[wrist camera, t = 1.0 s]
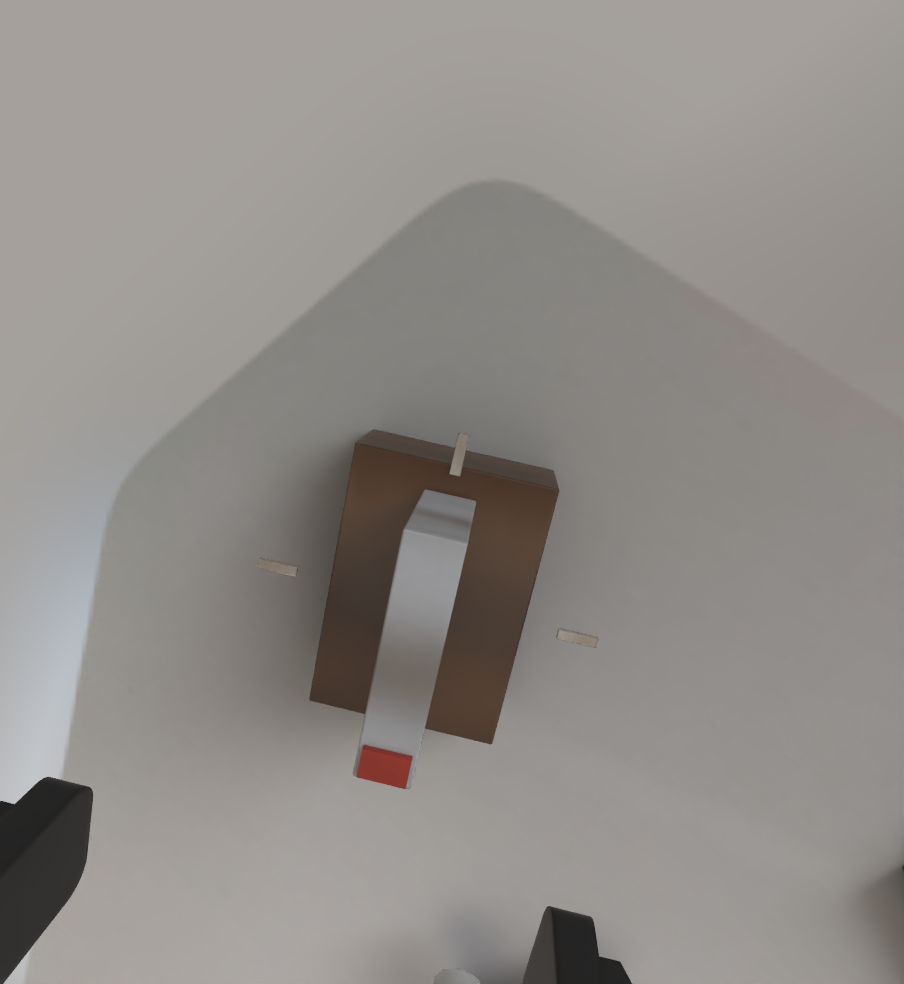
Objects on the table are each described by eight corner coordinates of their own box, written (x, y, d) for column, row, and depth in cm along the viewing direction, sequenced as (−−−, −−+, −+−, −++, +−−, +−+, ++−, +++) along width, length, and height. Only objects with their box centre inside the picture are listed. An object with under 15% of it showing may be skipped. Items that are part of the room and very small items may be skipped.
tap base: (310, 385, 25) (283, 393, 22) (630, 457, 25) (647, 476, 22) (265, 670, 28) (235, 712, 25) (548, 738, 28) (553, 789, 25)
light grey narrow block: (424, 488, 22) (401, 531, 18) (476, 500, 22) (467, 546, 18) (380, 694, 24) (350, 782, 20) (428, 706, 24) (409, 796, 20)
